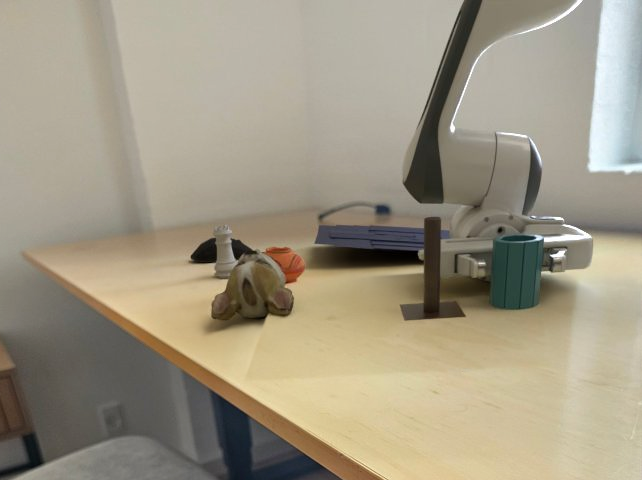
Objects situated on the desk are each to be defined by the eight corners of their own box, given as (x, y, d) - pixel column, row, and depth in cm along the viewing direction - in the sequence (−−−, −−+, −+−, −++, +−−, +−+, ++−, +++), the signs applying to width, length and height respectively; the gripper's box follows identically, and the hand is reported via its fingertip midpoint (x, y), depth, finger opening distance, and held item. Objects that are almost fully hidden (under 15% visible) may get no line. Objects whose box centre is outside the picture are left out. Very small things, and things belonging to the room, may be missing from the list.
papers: (318, 237, 130) (319, 218, 129) (470, 246, 129) (473, 227, 128) (312, 262, 109) (314, 240, 107) (494, 273, 108) (498, 250, 106)
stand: (456, 312, 82) (459, 211, 76) (465, 329, 76) (469, 220, 70) (399, 316, 82) (398, 215, 77) (404, 332, 76) (404, 225, 71)
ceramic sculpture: (294, 234, 90) (287, 263, 77) (300, 296, 94) (294, 333, 81) (217, 240, 90) (198, 270, 78) (227, 301, 95) (210, 339, 82)
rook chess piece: (225, 272, 114) (219, 224, 110) (246, 273, 112) (240, 224, 108) (209, 278, 111) (202, 228, 107) (230, 279, 109) (224, 229, 105)
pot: (260, 280, 104) (266, 237, 101) (307, 292, 103) (314, 249, 100) (241, 291, 98) (247, 245, 94) (290, 304, 96) (298, 258, 93)
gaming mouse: (269, 257, 123) (267, 235, 122) (190, 264, 122) (187, 242, 120) (267, 251, 129) (265, 230, 127) (191, 258, 128) (188, 237, 126)
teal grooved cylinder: (529, 307, 81) (535, 232, 77) (542, 320, 76) (549, 240, 72) (485, 310, 82) (489, 235, 78) (495, 323, 77) (499, 244, 73)
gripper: (416, 227, 87) (428, 246, 75) (573, 216, 86) (613, 233, 73) (416, 275, 90) (428, 300, 78) (568, 265, 89) (605, 289, 76)
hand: (519, 268), depth 76 cm, fingers open, 8 cm apart
